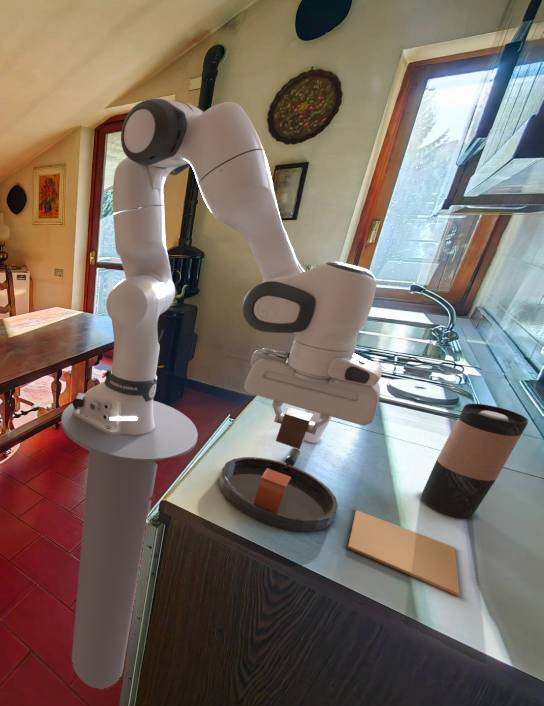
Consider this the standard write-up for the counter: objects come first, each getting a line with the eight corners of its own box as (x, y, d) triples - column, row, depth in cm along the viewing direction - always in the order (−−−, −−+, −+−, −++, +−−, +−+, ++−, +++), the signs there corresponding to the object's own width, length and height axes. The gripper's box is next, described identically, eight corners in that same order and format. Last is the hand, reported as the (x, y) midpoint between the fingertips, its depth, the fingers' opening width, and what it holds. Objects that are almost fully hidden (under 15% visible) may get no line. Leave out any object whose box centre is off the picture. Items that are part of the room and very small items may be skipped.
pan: (204, 496, 76) (207, 485, 75) (236, 456, 89) (239, 447, 88) (323, 549, 64) (328, 538, 63) (340, 494, 77) (344, 484, 76)
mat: (347, 548, 64) (348, 545, 64) (355, 512, 72) (356, 509, 72) (458, 596, 56) (459, 594, 56) (453, 549, 64) (454, 547, 64)
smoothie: (306, 430, 101) (322, 381, 95) (331, 443, 95) (350, 391, 90) (288, 434, 99) (304, 384, 93) (313, 447, 93) (331, 394, 88)
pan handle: (279, 470, 83) (282, 463, 82) (290, 452, 89) (292, 445, 89) (289, 474, 82) (292, 467, 81) (299, 455, 88) (301, 448, 87)
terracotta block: (253, 503, 73) (261, 477, 71) (259, 493, 76) (267, 467, 74) (277, 513, 71) (286, 486, 69) (282, 503, 74) (291, 476, 71)
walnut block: (275, 441, 75) (284, 413, 73) (280, 433, 78) (289, 407, 76) (299, 449, 73) (309, 421, 70) (303, 441, 76) (313, 414, 73)
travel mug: (483, 514, 72) (540, 419, 65) (459, 523, 70) (515, 426, 62) (433, 489, 79) (478, 400, 71) (409, 497, 77) (454, 406, 69)
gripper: (249, 348, 73) (232, 414, 78) (391, 380, 60) (358, 455, 66) (259, 342, 77) (242, 404, 83) (393, 370, 65) (362, 441, 70)
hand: (294, 427), depth 74 cm, fingers closed on walnut block, 4 cm apart
